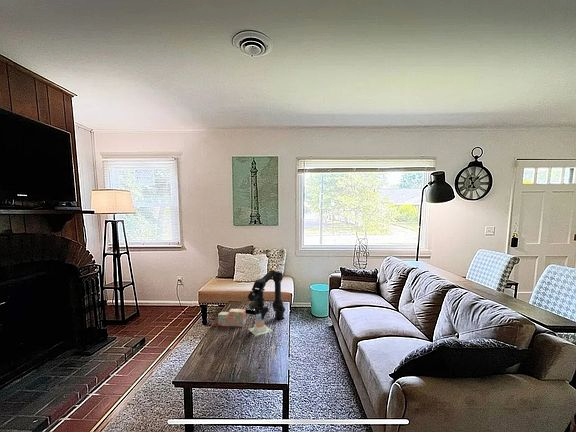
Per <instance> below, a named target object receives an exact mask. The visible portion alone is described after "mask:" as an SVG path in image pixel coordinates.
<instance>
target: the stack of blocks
mask: <svg viewBox="0 0 576 432" xmlns="http://www.w3.org/2000/svg"><path fill="white" fill-rule="evenodd" d="M246 311H247V310H246V309H242V308H230V309H229V311H220V312H219V313H218V314H217V322H218V323H217V325H218V326H221V327H244V326H245V325H246V324H247V321H246V319H247V318H246V317H247V314H246Z"/></svg>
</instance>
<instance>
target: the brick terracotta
mask: <svg viewBox="0 0 576 432" xmlns="http://www.w3.org/2000/svg"><path fill="white" fill-rule="evenodd" d="M255 324H256V326H258V327H262V326H264V325H265V320H264V321H261V322H258V321H256V320H255Z"/></svg>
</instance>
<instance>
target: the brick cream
mask: <svg viewBox="0 0 576 432" xmlns="http://www.w3.org/2000/svg"><path fill="white" fill-rule="evenodd" d="M266 326H267V325H266V324H264V326H262V327H258V326H256V323H255V324H253V327H254V330H255V331H256V332H258V333H259V332H263V331H266Z"/></svg>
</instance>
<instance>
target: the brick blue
mask: <svg viewBox="0 0 576 432" xmlns="http://www.w3.org/2000/svg"><path fill="white" fill-rule="evenodd" d="M256 321H258V322H261V321H264V322H265V318H264V319H263V320H262V318H261V313H260V312H259V314H256V313H255V322H256Z"/></svg>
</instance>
